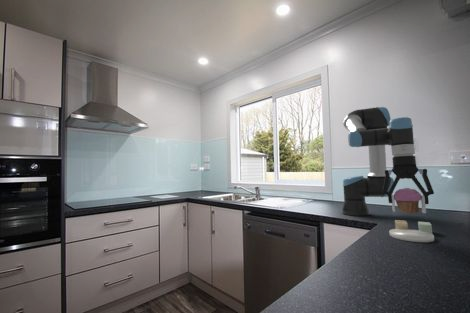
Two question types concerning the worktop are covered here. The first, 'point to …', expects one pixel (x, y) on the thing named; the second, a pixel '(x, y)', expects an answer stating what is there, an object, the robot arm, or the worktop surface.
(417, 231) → the plate
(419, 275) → the worktop surface
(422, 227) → the sage block
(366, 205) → the robot arm
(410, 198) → the cupcake
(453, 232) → the worktop surface
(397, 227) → the beech brick
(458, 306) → the worktop surface
